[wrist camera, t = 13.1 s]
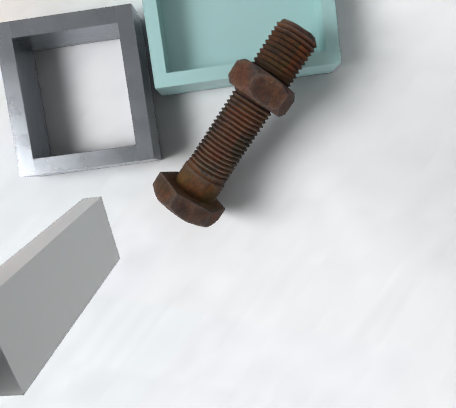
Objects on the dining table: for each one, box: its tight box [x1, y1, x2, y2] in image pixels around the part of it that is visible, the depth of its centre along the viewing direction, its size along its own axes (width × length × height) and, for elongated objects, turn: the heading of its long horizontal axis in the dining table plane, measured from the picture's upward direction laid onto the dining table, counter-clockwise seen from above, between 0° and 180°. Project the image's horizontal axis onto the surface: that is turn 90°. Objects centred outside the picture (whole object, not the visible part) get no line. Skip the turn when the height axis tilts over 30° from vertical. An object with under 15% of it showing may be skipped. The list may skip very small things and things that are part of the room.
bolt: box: [153, 19, 317, 227], centre depth 27 cm, size 6×5×15 cm
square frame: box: [0, 4, 162, 177], centre depth 30 cm, size 10×11×3 cm
